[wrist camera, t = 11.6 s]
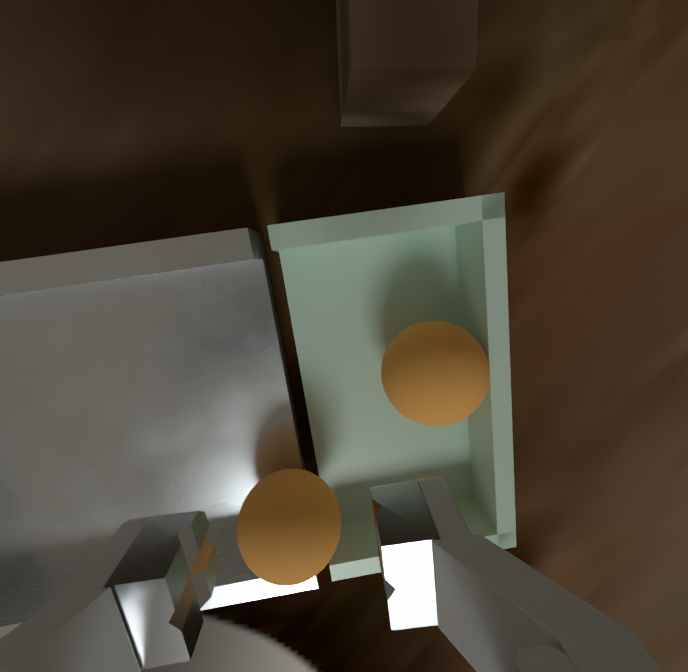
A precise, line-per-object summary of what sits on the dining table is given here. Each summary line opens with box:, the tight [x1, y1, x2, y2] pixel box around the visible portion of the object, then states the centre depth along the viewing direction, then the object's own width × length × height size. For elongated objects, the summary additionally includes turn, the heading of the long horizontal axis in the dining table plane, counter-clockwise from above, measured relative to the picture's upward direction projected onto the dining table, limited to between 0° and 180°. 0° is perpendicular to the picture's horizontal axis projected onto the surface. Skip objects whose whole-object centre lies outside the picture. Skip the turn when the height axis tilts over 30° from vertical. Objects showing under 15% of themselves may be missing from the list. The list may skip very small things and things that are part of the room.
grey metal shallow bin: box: [0, 228, 318, 639], centre depth 14 cm, size 15×14×3 cm
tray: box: [267, 192, 516, 581], centre depth 15 cm, size 8×14×3 cm, turn 8°
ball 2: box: [381, 320, 490, 426], centre depth 13 cm, size 4×4×4 cm
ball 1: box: [237, 468, 341, 586], centre depth 14 cm, size 4×4×4 cm
